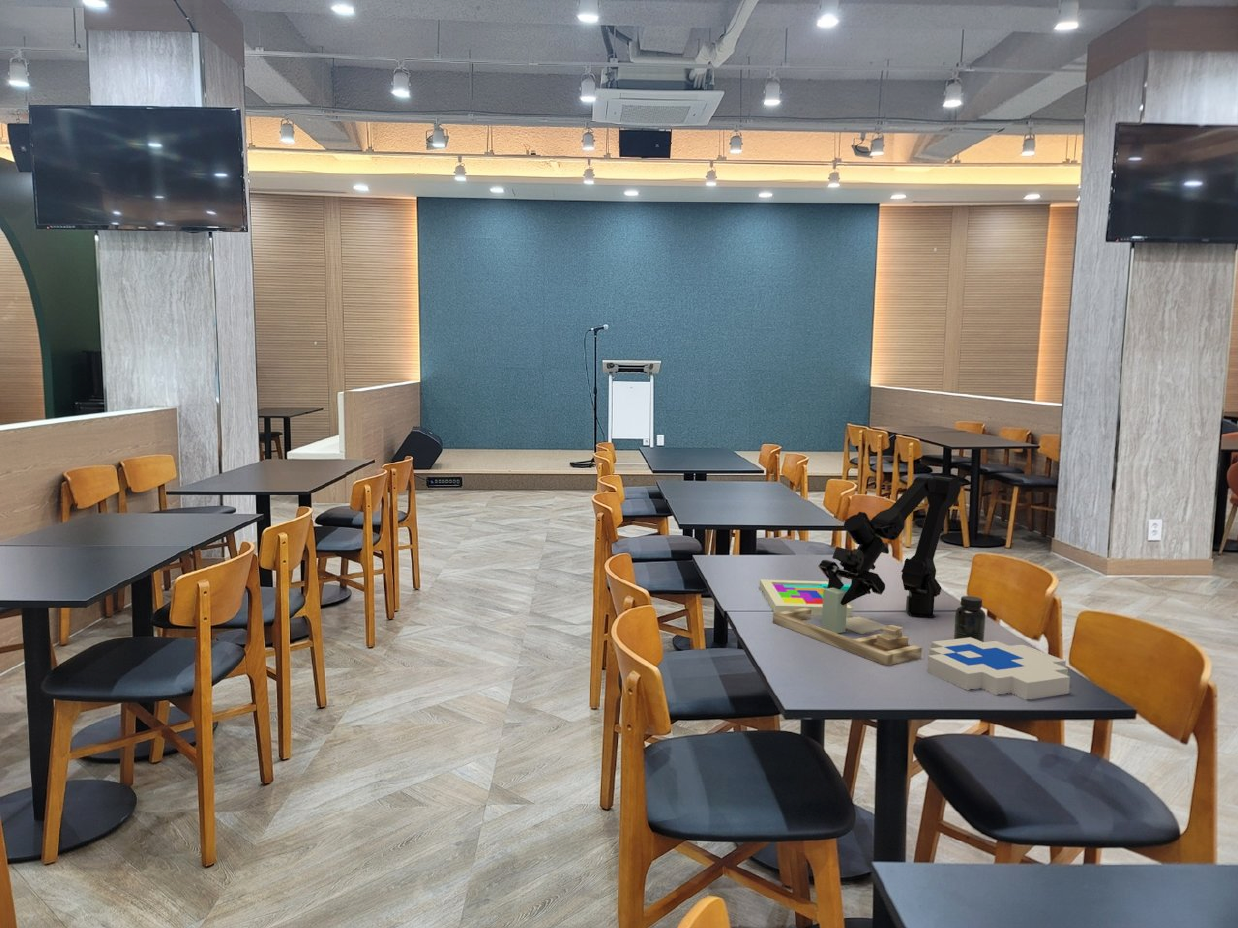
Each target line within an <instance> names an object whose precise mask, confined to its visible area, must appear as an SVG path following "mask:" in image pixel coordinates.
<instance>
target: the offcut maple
mask: <svg viewBox="0 0 1238 928" xmlns="http://www.w3.org/2000/svg"><path fill="white" fill-rule="evenodd" d="M886 626H887V627H885V628H883V630H882V633H881V634H882V637H886V638H890V639H896V638H898V637H900V636H902V635H903V631H904V629H903V628H904V627H902V626H898V625H894V624H890V625H886Z"/></svg>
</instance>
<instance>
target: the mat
mask: <svg viewBox="0 0 1238 928" xmlns="http://www.w3.org/2000/svg"><path fill="white" fill-rule="evenodd" d="M887 626H888V625H886V624H883V623H880V622H877V621H874V620H870V619H869V618H865V617H862V616H859V615H858V616H852V617H846V630H849V631H852V632H854V633H857V634H860V635H866V634H871V633H874V632H875V633H876V632H880V631H883V628H885V627H887Z"/></svg>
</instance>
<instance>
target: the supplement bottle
mask: <svg viewBox="0 0 1238 928" xmlns="http://www.w3.org/2000/svg"><path fill="white" fill-rule="evenodd" d="M960 605H961V606H959V607H958V608H956V610H955V615H954V617H955V619H954V629H953V630H954V631H953V639H961V638H970V637H971V638H974V639H976V640H979V641H981V642H985V629H986V618H987V617H986V612H985V611H984V610H983V609H982V608H983V599H982V598H981V597H977V596H972V595H971V596H970V595H964V596H961V598H960Z"/></svg>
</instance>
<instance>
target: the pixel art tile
mask: <svg viewBox="0 0 1238 928" xmlns="http://www.w3.org/2000/svg"><path fill="white" fill-rule="evenodd" d="M1066 661H1067V660H1064V659H1062V658H1060V657H1057V656H1054V655H1051V654H1049V653H1046V652H1044V651H1041V650H1039V649H1035V648H1033V647H1030V646H1028V645H1025V644H1013V645H1008V644H1006V643H1003V642H1001V641H999V640H994V641H993V640H992V641H984V642H981V641H979V640H976V639H974V638H971V637H970V638H961V639H954V638H952V639H944V640H936V641H935V640H934V641H931V643H930V648H929V654H928V655H927V665H926V666H927V669H926V671H928V673H929V674H931V675H934V676H936V677H938V678H939V679H942V678H943V679H942V680H944V679H945V681H946V682H947V683H950V684H952V685H954V684H955V685H954V686H957V687H958V686H959V687H958V688H960V687H961V689H962V688H964V689H963V690H965V689H966V690H965V691H971V690H970V689H974V690H979V688H982V690H984V689H985V690H984V691H986V690H987V691H986V692H988V691H989V692H988V693H990V692H991V694H992V693H993V694H992V695H994V694H995V696H998V694H1001V695H1006V693H1008V694H1011V693H1012V695H1014V694H1015V695H1014V696H1016V695H1017V696H1016V697H1018V696H1019V697H1018V698H1020V697H1022V698H1024V699H1023V700H1025V699H1030V700H1035V699H1042V698H1048V697H1055V696H1060V695H1067V694H1069V693H1070V683H1071V676H1069V675H1068V673H1069V672H1068V671H1069V669H1068V668H1067V667H1066V663H1067V662H1066ZM1022 698H1021V699H1022Z"/></svg>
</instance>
